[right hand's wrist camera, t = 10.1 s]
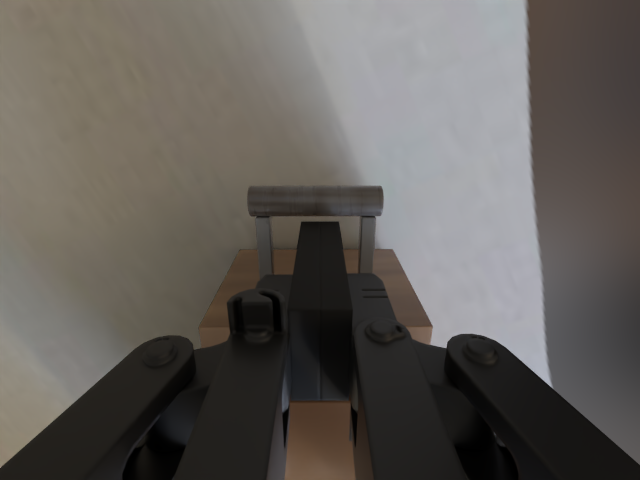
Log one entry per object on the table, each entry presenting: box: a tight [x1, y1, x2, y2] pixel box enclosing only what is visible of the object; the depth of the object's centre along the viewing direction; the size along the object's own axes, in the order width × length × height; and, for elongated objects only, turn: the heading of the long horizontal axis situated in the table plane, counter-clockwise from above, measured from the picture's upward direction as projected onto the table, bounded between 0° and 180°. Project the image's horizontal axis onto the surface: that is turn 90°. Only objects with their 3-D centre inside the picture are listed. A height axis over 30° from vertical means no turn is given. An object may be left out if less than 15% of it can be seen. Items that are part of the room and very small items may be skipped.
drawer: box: [199, 186, 433, 348], centre depth 19 cm, size 21×9×8 cm, turn 0°
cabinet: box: [285, 396, 356, 480], centre depth 21 cm, size 18×10×10 cm, turn 0°
